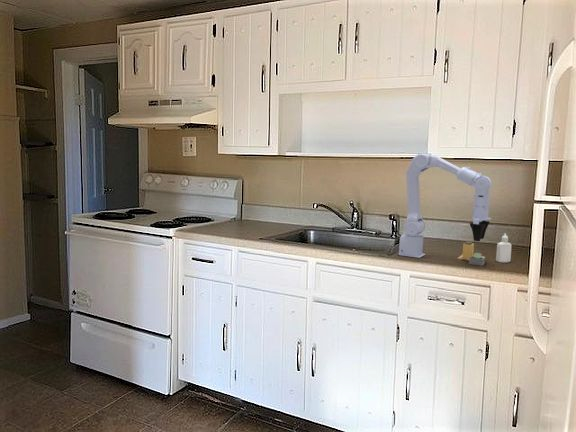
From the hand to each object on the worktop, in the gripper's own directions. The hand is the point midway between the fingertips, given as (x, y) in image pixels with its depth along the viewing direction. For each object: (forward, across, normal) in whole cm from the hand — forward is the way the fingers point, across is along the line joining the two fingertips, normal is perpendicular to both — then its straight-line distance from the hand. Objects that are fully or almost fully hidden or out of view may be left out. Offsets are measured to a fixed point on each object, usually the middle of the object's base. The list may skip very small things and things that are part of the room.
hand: (478, 239), depth 193 cm
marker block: (+9, +6, +5) cm, 12 cm away
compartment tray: (+10, +8, +4) cm, 13 cm away
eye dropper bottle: (+10, +10, -8) cm, 17 cm away
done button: (+9, 0, 0) cm, 9 cm away
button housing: (+10, 0, 0) cm, 10 cm away
